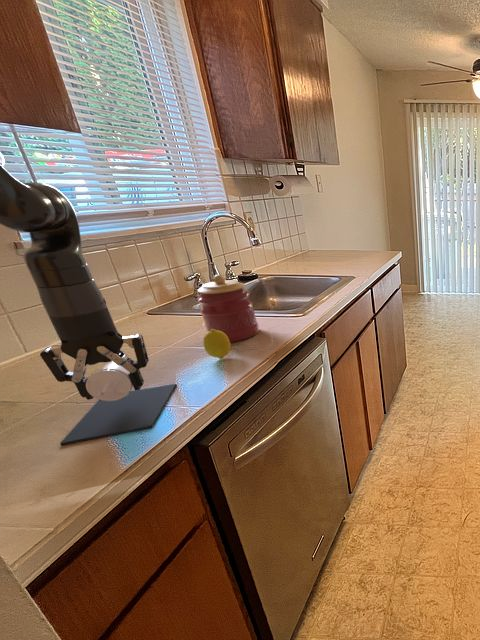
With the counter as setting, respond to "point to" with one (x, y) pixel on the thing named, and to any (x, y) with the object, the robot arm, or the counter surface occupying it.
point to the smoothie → (109, 383)
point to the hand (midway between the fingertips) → (115, 392)
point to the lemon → (217, 343)
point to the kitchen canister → (228, 308)
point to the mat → (121, 415)
